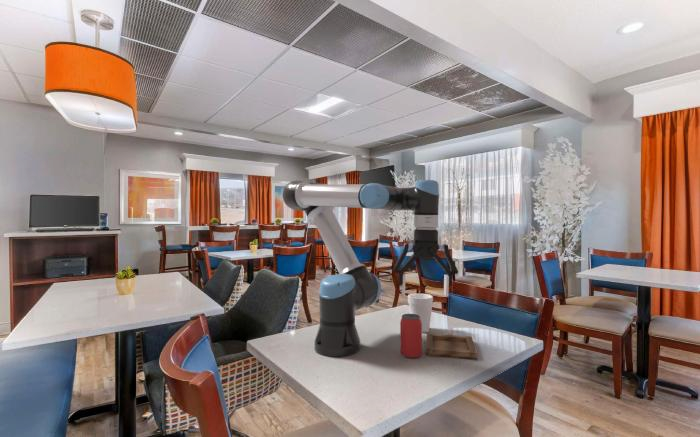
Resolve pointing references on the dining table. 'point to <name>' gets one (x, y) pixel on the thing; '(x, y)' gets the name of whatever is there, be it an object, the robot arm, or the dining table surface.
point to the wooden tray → (450, 346)
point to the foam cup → (421, 308)
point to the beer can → (411, 335)
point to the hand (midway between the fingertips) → (424, 295)
